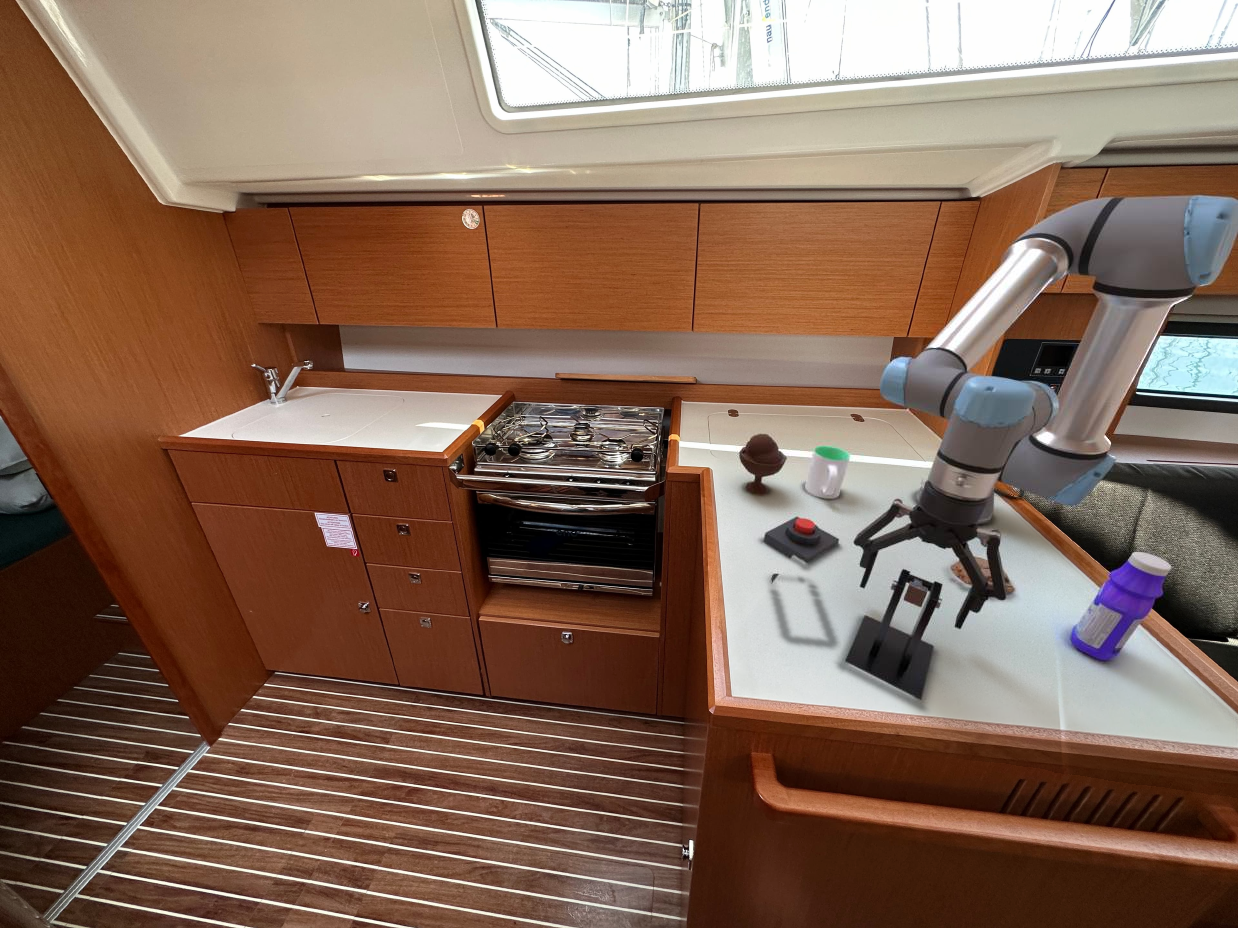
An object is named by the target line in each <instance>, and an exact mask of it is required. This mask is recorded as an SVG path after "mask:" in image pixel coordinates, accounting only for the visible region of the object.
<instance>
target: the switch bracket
mask: <svg viewBox="0 0 1238 928" xmlns="http://www.w3.org/2000/svg"><path fill="white" fill-rule="evenodd" d="M901 571H902V572H901ZM901 571H900V573H901V574H900V573H899V576H900V577H899V576H898V579H897V580H896V579H893V581H892V583H891V586H890V590H892V591H893V592H892V594H891V597H890V599H889V602H888V605H887V607H886V609H885V612H884V615H883V617H882V620H881V621H880V620H877V619H876V618H874V617H871V616H869V615H868V614H864V616H863V618H862V621H861V623H860V625H859V628H858V630H857V633H856V634H855V637H854V639H853V641H852V643H851V646H850V648H849V651H848V653H847V655H846V657H845V659H844V662H846V663H848V664H849V665H852V666H853V667H855V668H858V669H859V670H861V671H863V672H865V673H867V674H868V675H871V676H872V677H875V678H877V679H879V680H881V681H883V682H885V683H887V684H888V685H891V686H892V687H895V688H896V689H898V690H900V691H902V692H905V693H906V694H908V695H910V696H912V697H914V698H915V699H918V700H920V701H922V698H923V695H924V690H925V686H926V681H927V677H928V672H929V667H930V663H931V658H932V655H933V651H934V645H933V644H931V643H928V642H926V641H924V640H922V638H923V636H924V634H925V631H926V629H927V627H928V625H929V622H930V621H931V619H932V617H933V615H934V612H935V610H936V609H940V607H941V604H942V602H943V598H940V597H941V594H942V593H941V592H942V589H943V583H941V582H938V581H936V580H934V581H933V582H932V583H933V585H932V588H931V590H930V592H929V591H928V592H929V593H927V594H928V595H927V596H926V598H925V600H924V602H923V605H922V607H921V610H920V613H919V615H918V617H917V620H916V621H915V624H914V626H913V628H912V630H911V633H910V634H909V633H906V632H905V631H902V630H899V629H897V628H896V627H893V626H891V623H892V620H893V617H894V616H895V613H896V611H897V608H898V605H899V603H900V601H901V598H902V596H903V594H904V590H905V588H906V586H907V584H908V583H907V580H908V577H909V574H911V571H910V570H907V569H905V568H902V570H901Z"/></svg>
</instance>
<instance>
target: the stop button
mask: <svg viewBox="0 0 1238 928" xmlns="http://www.w3.org/2000/svg"><path fill="white" fill-rule="evenodd" d="M815 525H816V524H815V522H814V521H812V520H811V519H809V518H805V517H799V519H797V520H796V524H795V528H794V529H795V530H796V531H797V532H799V533H801V534H805V535H811V534H813V531H814V527H815Z"/></svg>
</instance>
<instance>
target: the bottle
mask: <svg viewBox="0 0 1238 928" xmlns="http://www.w3.org/2000/svg"><path fill="white" fill-rule="evenodd" d="M1171 570H1172V566H1171V564H1170V563H1169V562H1168V561H1166V560H1165V559H1163V558H1160V557H1159V556H1157V555H1153V554H1151V553H1147V552H1142V551H1134V552H1132V553H1131V555H1130V556H1129V558H1128V559H1127V560H1126V562H1125V563H1124V564H1123V565H1121V567H1119V568H1117V569H1115V570H1112V571H1110V572H1109V574H1108V577H1109V579H1108V580H1106V581H1104V583H1103V584H1102V585H1101V587H1099V589H1098V591H1097V594H1096V596H1095V597H1094V599H1093V600H1092V602H1091V603H1090V605H1089V606H1088V607H1087V609H1086V610H1085V612H1084V613H1083V614H1082V616H1081V617H1080V618H1079V620H1078V622H1077V623H1076V624H1075V625H1074V626H1073V627H1072V630H1071V634H1070V641H1071V643H1072V645H1073V646H1074V647H1075V648H1077V649H1078V650H1079V651H1081V652H1083V653H1085V654H1087V655H1089V656H1090V657H1093V658H1096V659H1098V660H1101V661H1109V660H1112V659H1115V658H1116V657H1117V656H1118V655H1119V654H1120V653H1121V651H1122V649H1123V647H1124V646H1125V645H1126V644H1127V642H1128V641H1129V640H1130V638H1131V636H1132V635H1133V634H1134V632H1135V631H1137V630H1136V629H1138V627H1139V626H1140V624H1141V623H1142V622H1143V620H1144V619H1145V618H1146V617H1147V616H1148V615H1149V614H1150V612H1151V610H1152V609H1153V606H1154V604H1155V600H1156V599H1157V598H1160V597H1162V596H1163V594H1164V591H1163V583H1164V581H1165V579H1166V578H1167V577H1166V576H1168V574H1169V572H1170V571H1171Z"/></svg>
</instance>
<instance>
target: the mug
mask: <svg viewBox="0 0 1238 928" xmlns="http://www.w3.org/2000/svg"><path fill="white" fill-rule="evenodd" d="M850 458H851V455H850V453H849V452H847V451H846V450H844V449H842V448H839V447H836V446H832V445H819V446H816V447H814V449H813V452H812V456H811V460H810V465H809V468H808V472H807V476H806V481H805V485H804V489H805V491H806V492H807V493H809V494H810V495H812V496H813V497H817V498H820V499H826V500H828V499H829V500H831V499H836V498H839V496H840V493H841V489H842V486H843V483H844V479H845V476H846V472H847V468H848V465H849V463H850Z"/></svg>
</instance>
